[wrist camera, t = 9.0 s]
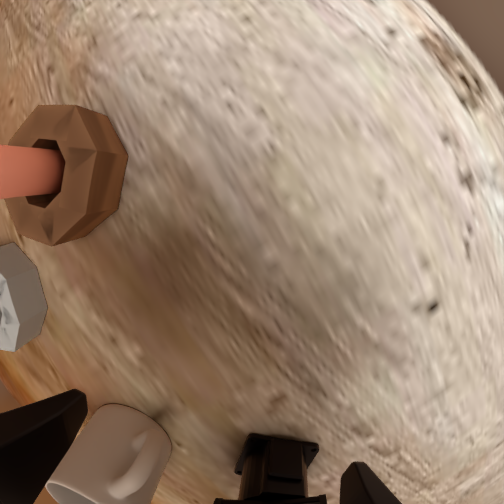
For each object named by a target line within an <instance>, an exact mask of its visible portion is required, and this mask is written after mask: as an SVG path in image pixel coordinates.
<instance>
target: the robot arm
mask: <svg viewBox="0 0 504 504" xmlns="http://www.w3.org/2000/svg"><path fill="white" fill-rule="evenodd" d="M87 412H88V407H87V399H86V395H85V393H83V392H81V391H79V390H77V389H72V390H69V391H66V392H64V393H61V394H58V395H55V396H52V397H49V398H47V399H44V400H41V401H38V402H35V403H32V404H29V405H26V406H23V407H20V408H16V409H14V410H10V411H7V412H4V413H0V504H33V503H34V502H35V500H36V498H37V497H38V495H39V494H40V492H41V491H42V489H43V488H44V486H45V485H46V483H47V482H48V480H49V478H50V477H51V475H52V474H53V472H54V471H55V469H56V468H57V466H58V465H59V463H60V462H61V460H62V459H63V457H64V456H65V455H66V453H67V452H68V450H69V448H70V447H71V445H72V443H73V441H74V439H75V437H76V435H77V433H78V431H79V429H80V427H81V425H82V423H83V421H84V419H85V418H86V416H87ZM313 448H314V449H313ZM318 451H319V445H318V444H313V443H305V442H298V441H291V440H285V439H279V438H273V437H267V436H262V435H257V434H250V435H249V436H248V437H247V440H246V442H245V445H244V447H243V450H242V452H241V455H240V457H239V460H238V462H237V465H236V467H235V471H234V472H235V474H238V475H242V478H241V485H240V491H239V498H238V500H226V499H223V498H216V499H215V501H214V503H213V504H327V500H326V494H323V495H319V496H315V497H308V485H307V468H308V467H309V465H310V464H311V462H312V461H313V459H314V457H315V456H316V454H317V453H318ZM340 504H402V503H401V502H400V501H399V500H398V499H397V498H396V497H395V496H394V494H393V493H392V492H391V491H390V490H389V489H388V488H387V487H386V486H385V485H384V483H383V482H382V481H381V480H380V479H379V478H378V477H377V476H376V474H375V473H374V472H373V471H372V470H371V469H370V468H369V467H368V465H367V464H366V463H364V462H353V463H351V464H350V466H349V467H348V468H347V470H346V471H345V472H344V473H343V475H342V477H341V486H340Z"/></svg>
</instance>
